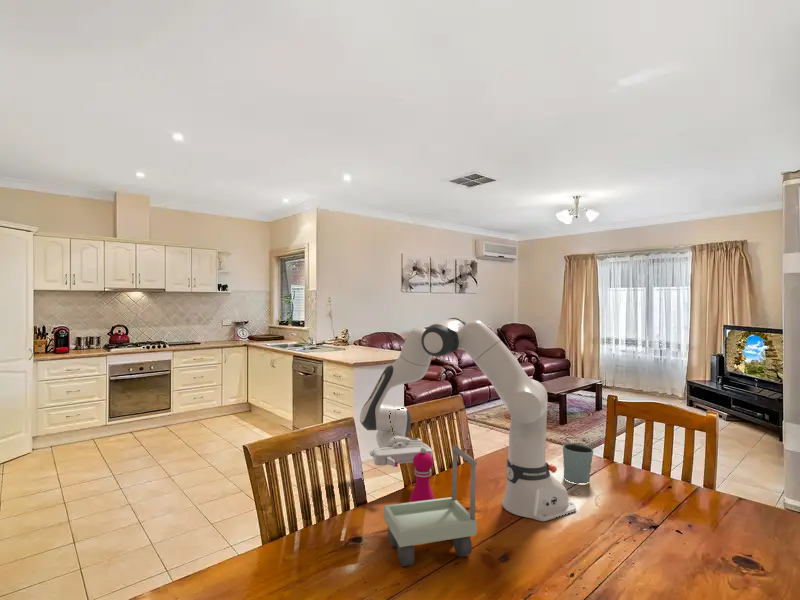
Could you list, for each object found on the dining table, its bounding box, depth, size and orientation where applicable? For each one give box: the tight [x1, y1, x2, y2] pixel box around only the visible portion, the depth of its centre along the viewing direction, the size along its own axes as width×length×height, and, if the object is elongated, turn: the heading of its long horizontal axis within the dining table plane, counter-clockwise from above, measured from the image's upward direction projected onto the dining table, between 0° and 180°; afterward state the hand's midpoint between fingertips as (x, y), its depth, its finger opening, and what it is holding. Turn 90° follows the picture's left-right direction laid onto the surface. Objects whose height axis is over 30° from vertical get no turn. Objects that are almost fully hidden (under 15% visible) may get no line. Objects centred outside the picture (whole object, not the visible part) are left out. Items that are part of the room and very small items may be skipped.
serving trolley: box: [383, 444, 478, 567], centre depth 114 cm, size 20×14×24 cm
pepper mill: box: [409, 448, 435, 502], centre depth 133 cm, size 7×7×20 cm
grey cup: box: [562, 443, 594, 483], centre depth 160 cm, size 10×10×12 cm
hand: (409, 463), depth 144 cm, fingers open, 8 cm apart
